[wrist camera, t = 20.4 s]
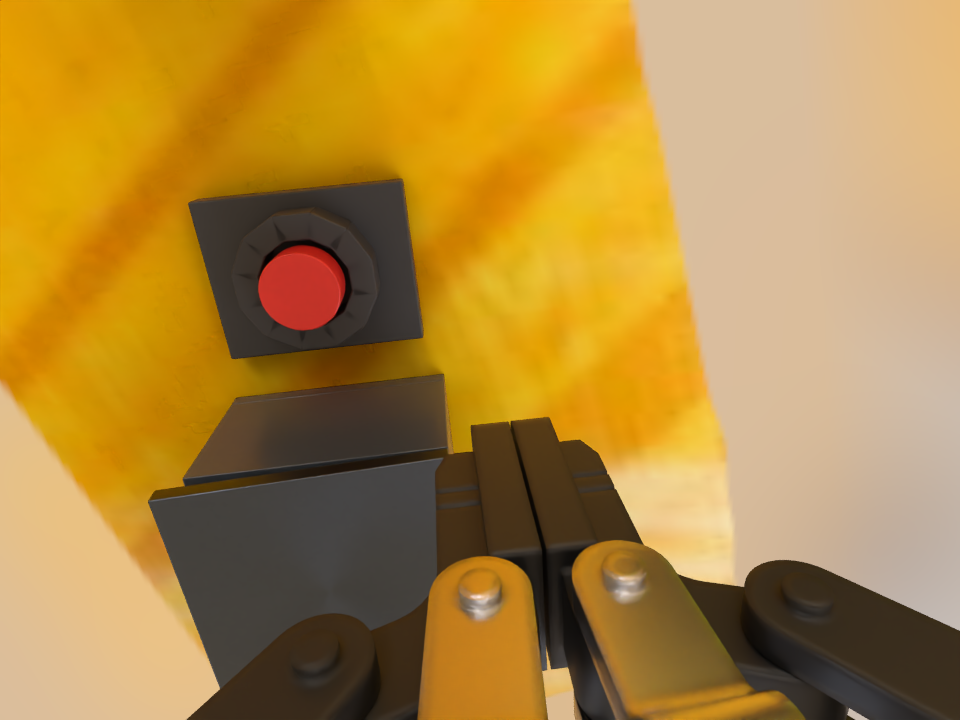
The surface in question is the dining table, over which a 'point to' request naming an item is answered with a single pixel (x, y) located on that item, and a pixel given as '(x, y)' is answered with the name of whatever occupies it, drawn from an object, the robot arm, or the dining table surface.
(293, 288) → the button
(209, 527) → the lid
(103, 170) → the dining table surface
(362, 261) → the block
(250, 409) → the dark grey lidded box
